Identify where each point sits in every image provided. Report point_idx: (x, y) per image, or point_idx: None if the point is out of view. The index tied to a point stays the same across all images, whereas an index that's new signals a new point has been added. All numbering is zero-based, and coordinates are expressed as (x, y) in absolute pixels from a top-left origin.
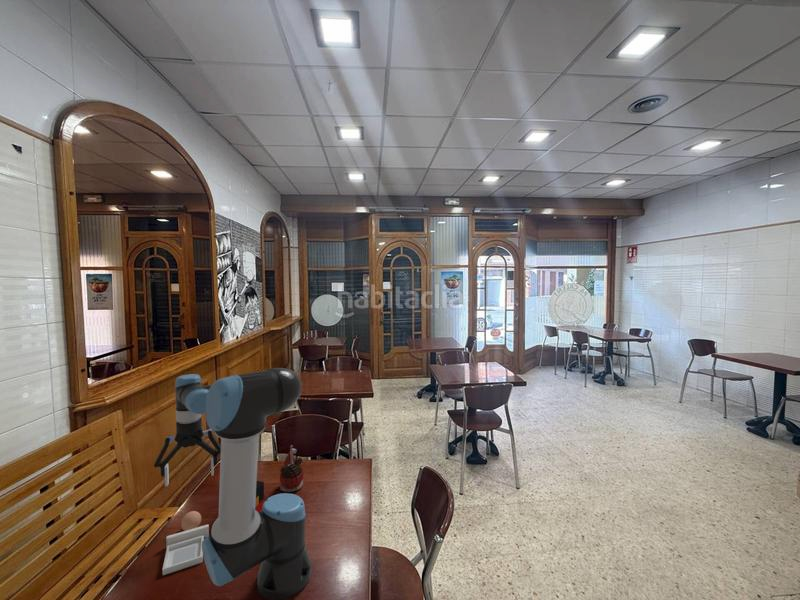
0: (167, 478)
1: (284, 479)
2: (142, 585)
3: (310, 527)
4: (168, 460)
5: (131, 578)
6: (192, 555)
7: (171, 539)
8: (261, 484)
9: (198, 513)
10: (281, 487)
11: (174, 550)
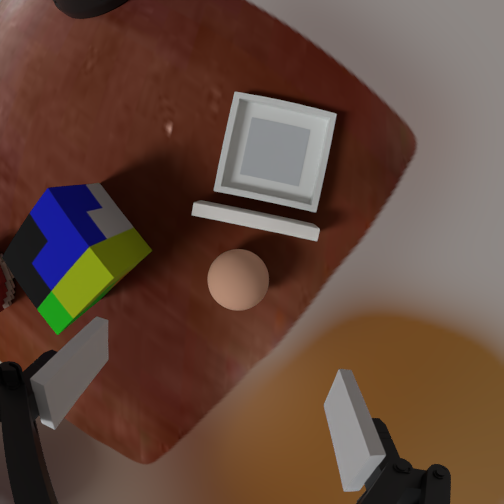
0: (349, 398)
1: None
2: (374, 118)
3: (10, 87)
4: (372, 499)
5: (395, 164)
6: (256, 132)
7: (304, 224)
8: (8, 248)
9: (213, 282)
10: (10, 282)
11: (297, 192)
